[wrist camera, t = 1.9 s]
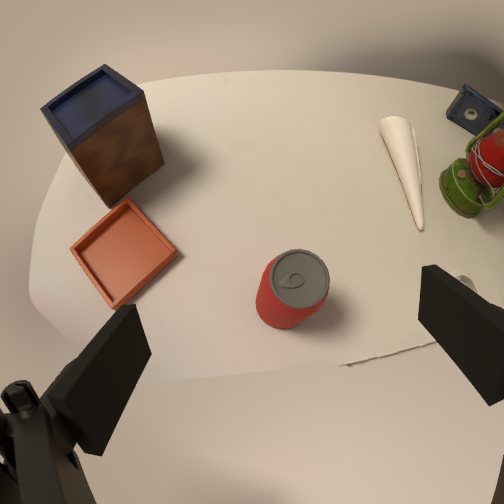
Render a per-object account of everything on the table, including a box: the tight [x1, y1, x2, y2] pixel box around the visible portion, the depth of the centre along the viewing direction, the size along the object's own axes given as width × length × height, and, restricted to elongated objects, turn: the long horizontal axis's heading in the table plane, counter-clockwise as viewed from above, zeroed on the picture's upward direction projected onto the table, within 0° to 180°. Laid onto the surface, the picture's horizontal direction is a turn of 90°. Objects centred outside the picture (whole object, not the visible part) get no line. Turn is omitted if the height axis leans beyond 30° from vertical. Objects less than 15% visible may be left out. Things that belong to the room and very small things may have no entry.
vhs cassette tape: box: [446, 84, 504, 138], centre depth 50 cm, size 18×3×10 cm, turn 67°
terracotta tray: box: [70, 197, 178, 311], centre depth 39 cm, size 11×11×2 cm
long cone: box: [378, 116, 424, 230], centre depth 45 cm, size 6×6×19 cm
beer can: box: [256, 249, 330, 329], centre depth 33 cm, size 7×7×12 cm
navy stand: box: [40, 64, 164, 208], centre depth 38 cm, size 11×11×15 cm
